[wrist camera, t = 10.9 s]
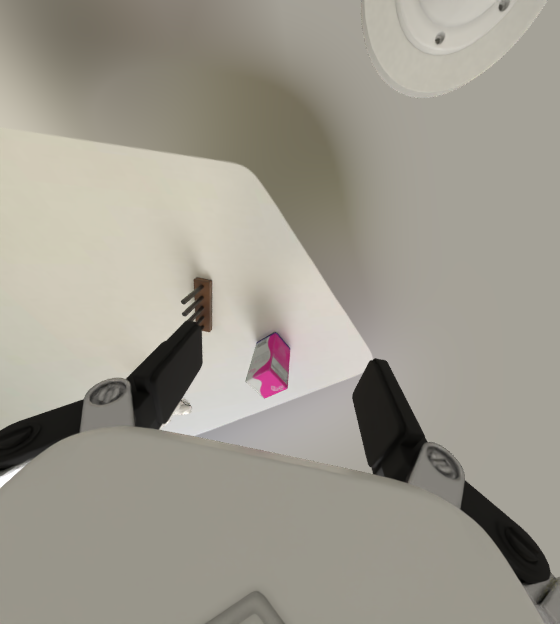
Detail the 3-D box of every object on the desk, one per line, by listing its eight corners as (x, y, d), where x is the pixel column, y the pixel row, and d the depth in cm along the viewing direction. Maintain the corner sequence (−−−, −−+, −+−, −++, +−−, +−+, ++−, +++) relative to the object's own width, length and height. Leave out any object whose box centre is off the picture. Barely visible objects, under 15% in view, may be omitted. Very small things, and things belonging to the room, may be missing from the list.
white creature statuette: (194, 408, 62) (171, 451, 51) (171, 412, 64) (145, 454, 54) (176, 387, 58) (147, 428, 47) (153, 392, 60) (121, 433, 50)
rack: (196, 277, 41) (173, 293, 33) (212, 280, 41) (192, 297, 33) (198, 326, 46) (179, 349, 39) (212, 329, 46) (195, 353, 39)
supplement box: (271, 359, 49) (263, 400, 39) (256, 342, 47) (242, 380, 37) (291, 349, 47) (287, 389, 37) (276, 331, 45) (267, 368, 35)
